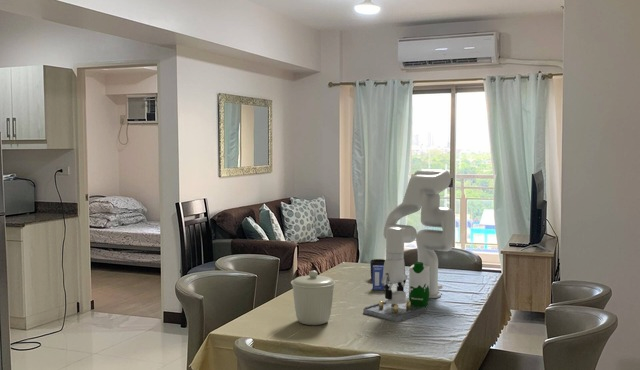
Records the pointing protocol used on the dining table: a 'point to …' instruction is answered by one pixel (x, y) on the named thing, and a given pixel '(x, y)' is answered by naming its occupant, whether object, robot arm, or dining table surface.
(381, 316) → the plate
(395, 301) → the mechanical component
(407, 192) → the robot arm
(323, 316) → the canister
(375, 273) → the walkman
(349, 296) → the dining table surface
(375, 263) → the pen holder
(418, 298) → the milk carton
